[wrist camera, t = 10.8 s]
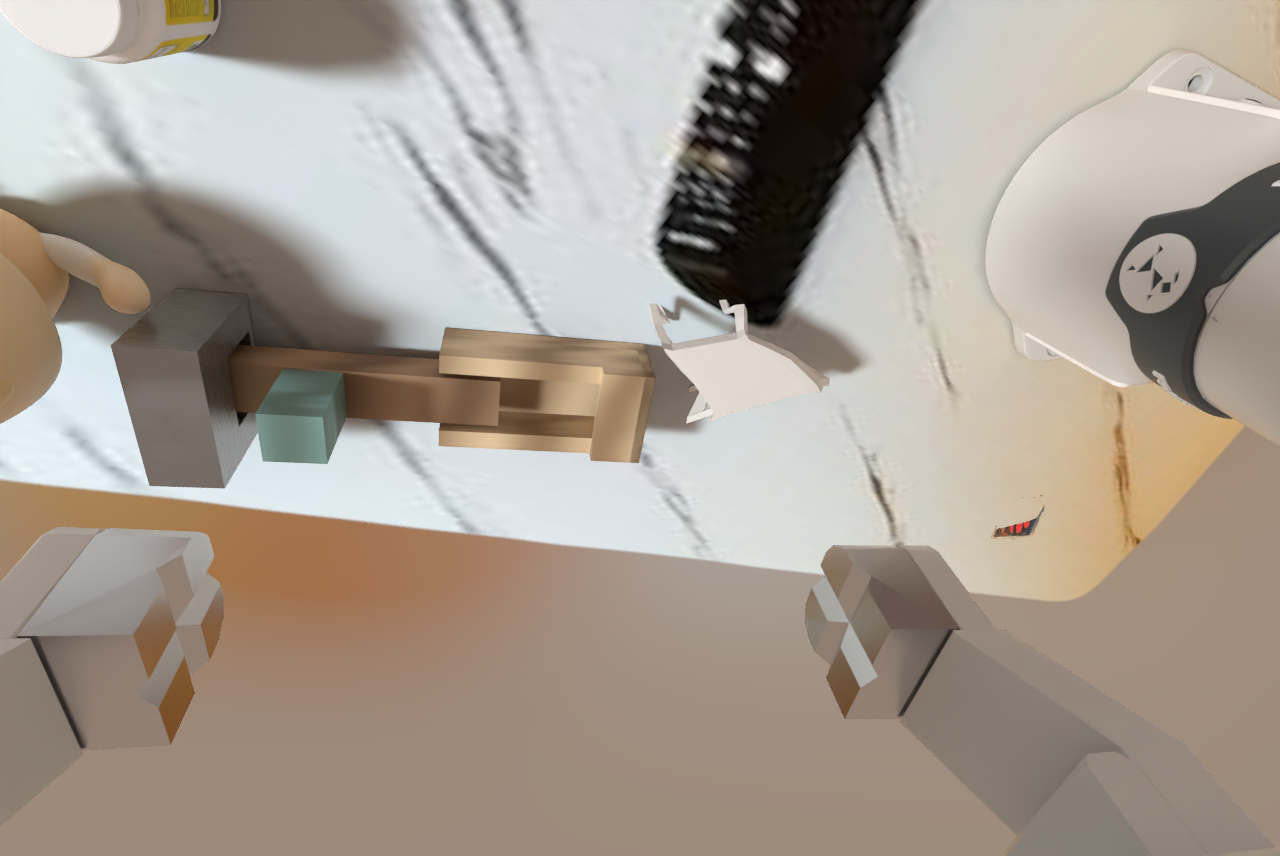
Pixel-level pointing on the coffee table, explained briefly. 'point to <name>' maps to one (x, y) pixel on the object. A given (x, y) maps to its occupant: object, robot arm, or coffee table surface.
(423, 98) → the coffee table surface
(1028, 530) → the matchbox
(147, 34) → the supplement bottle
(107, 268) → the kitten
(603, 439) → the guide channel
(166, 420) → the socket block
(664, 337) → the origami figure
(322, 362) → the slide bar
